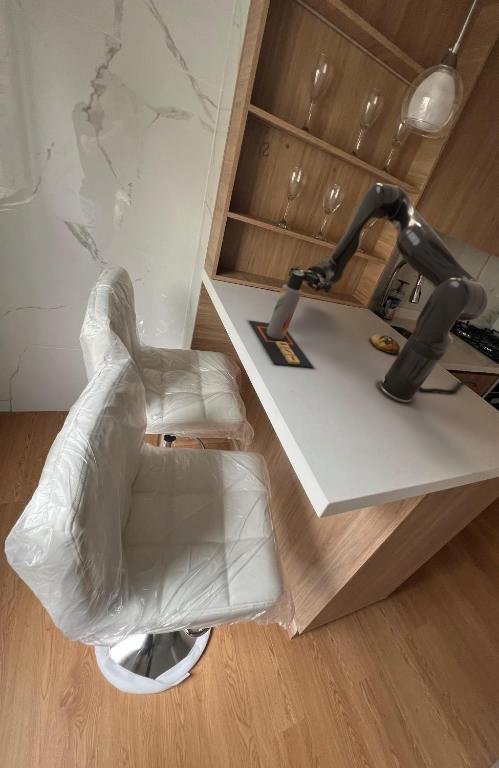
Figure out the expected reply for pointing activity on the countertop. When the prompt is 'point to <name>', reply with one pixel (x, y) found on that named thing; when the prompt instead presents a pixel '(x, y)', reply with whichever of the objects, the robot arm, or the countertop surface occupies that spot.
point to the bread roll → (385, 343)
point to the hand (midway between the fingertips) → (304, 282)
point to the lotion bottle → (286, 305)
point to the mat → (281, 347)
